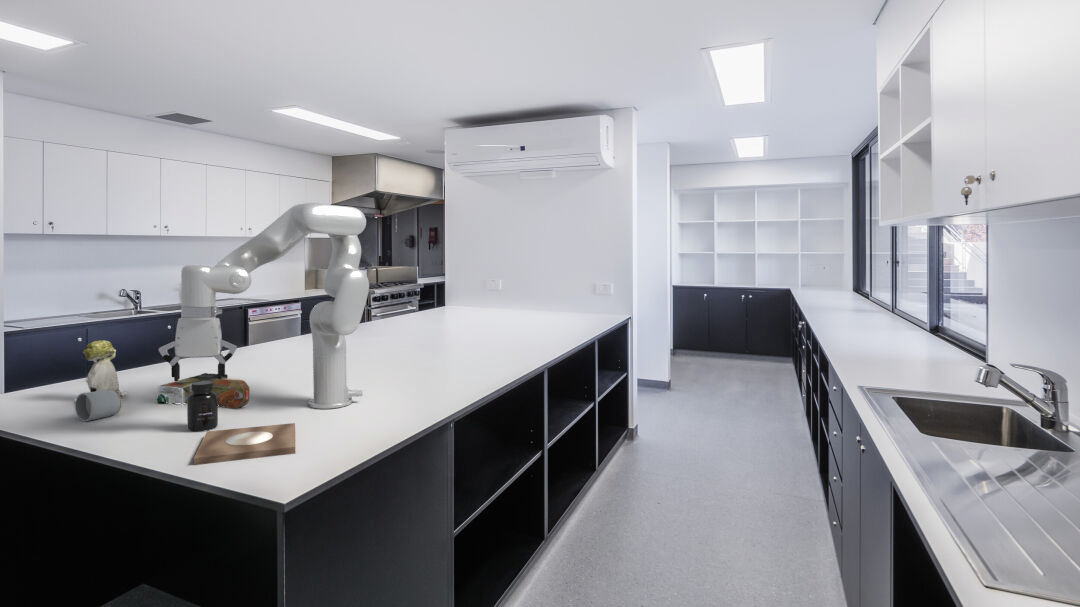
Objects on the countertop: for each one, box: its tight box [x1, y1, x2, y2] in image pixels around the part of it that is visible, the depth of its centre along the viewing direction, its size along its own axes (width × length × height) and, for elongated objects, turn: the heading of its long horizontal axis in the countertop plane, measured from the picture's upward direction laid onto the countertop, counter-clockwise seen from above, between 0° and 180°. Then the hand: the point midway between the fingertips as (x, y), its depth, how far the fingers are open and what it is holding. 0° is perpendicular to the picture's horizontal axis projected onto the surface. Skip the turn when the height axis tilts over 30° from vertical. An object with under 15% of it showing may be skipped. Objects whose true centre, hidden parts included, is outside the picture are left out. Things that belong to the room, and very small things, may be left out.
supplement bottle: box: [186, 381, 219, 432], centre depth 145 cm, size 7×7×12 cm
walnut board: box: [193, 422, 296, 466], centre depth 133 cm, size 20×20×2 cm
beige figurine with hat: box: [73, 339, 128, 403], centre depth 172 cm, size 12×13×18 cm
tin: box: [211, 378, 251, 409], centre depth 167 cm, size 15×3×8 cm, turn 68°
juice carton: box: [156, 372, 229, 405], centre depth 178 cm, size 10×20×6 cm, turn 170°
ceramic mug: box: [74, 390, 123, 422], centre depth 154 cm, size 11×8×8 cm
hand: (198, 379), depth 144 cm, fingers open, 9 cm apart
